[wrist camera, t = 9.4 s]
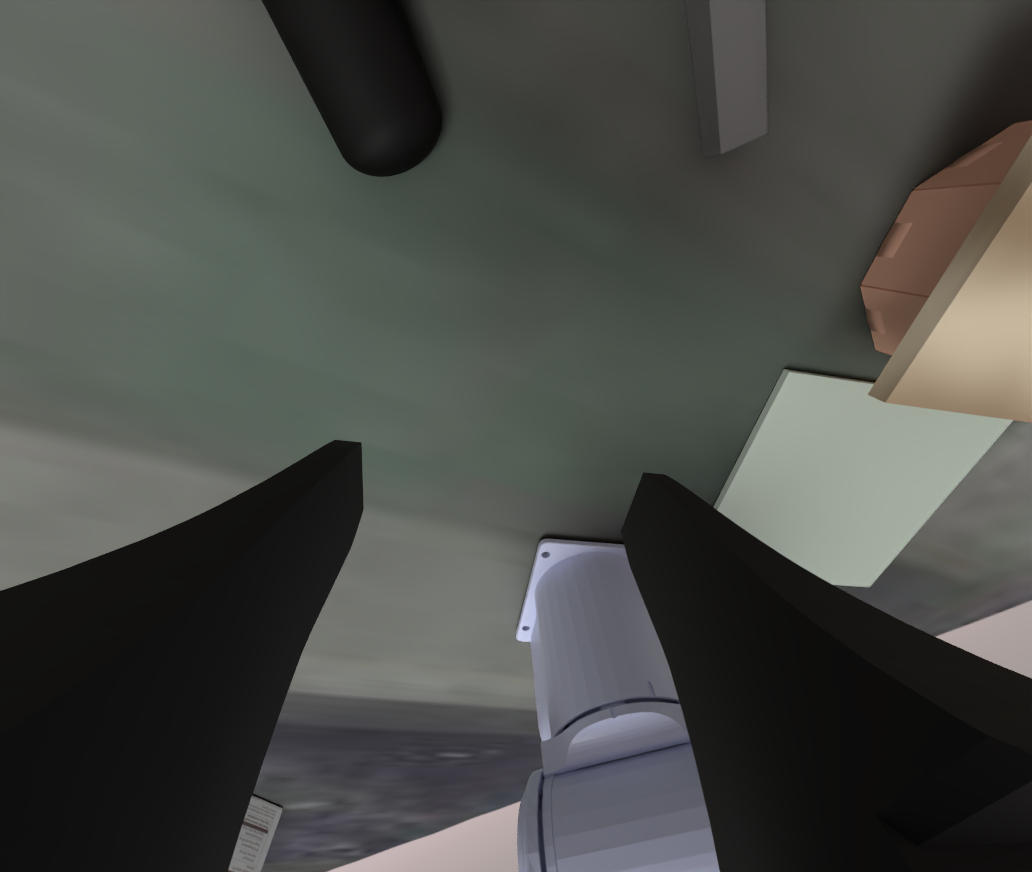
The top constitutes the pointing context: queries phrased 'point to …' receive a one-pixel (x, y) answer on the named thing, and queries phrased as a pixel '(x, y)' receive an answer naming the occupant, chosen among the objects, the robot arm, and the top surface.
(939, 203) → the bowl
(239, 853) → the supplement box
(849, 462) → the mat
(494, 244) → the top surface
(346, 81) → the door handle
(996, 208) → the lid
